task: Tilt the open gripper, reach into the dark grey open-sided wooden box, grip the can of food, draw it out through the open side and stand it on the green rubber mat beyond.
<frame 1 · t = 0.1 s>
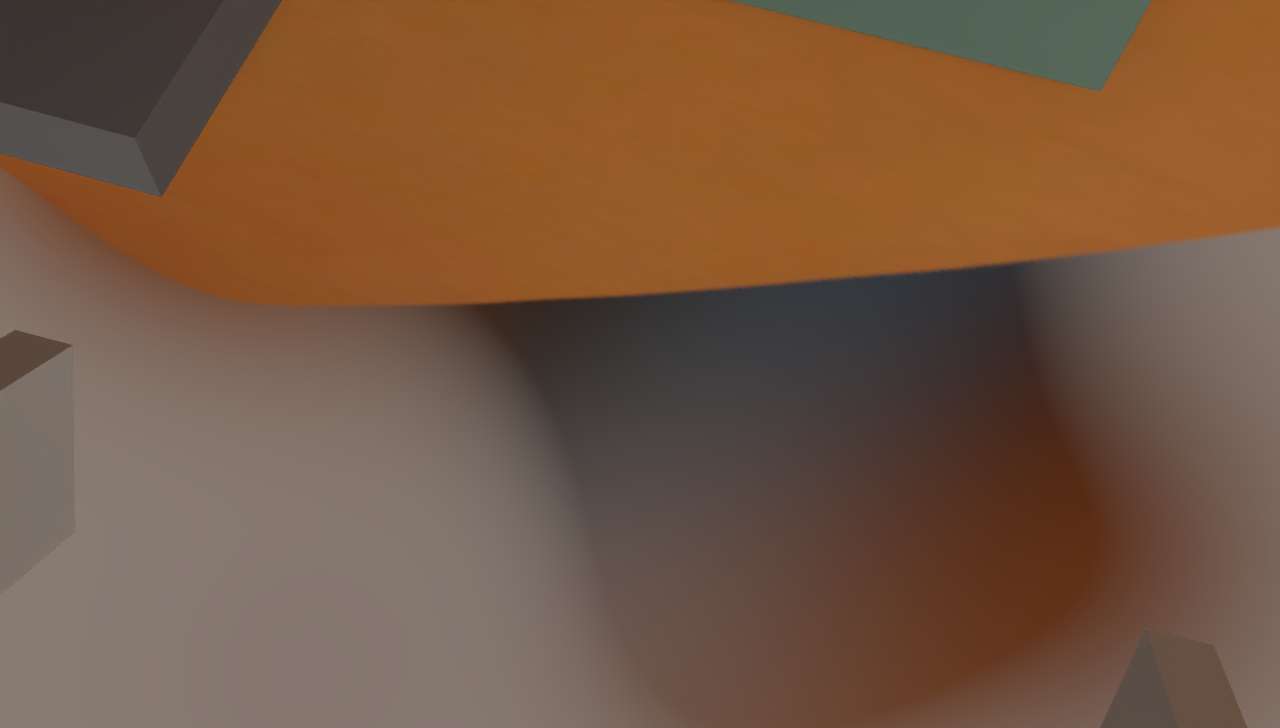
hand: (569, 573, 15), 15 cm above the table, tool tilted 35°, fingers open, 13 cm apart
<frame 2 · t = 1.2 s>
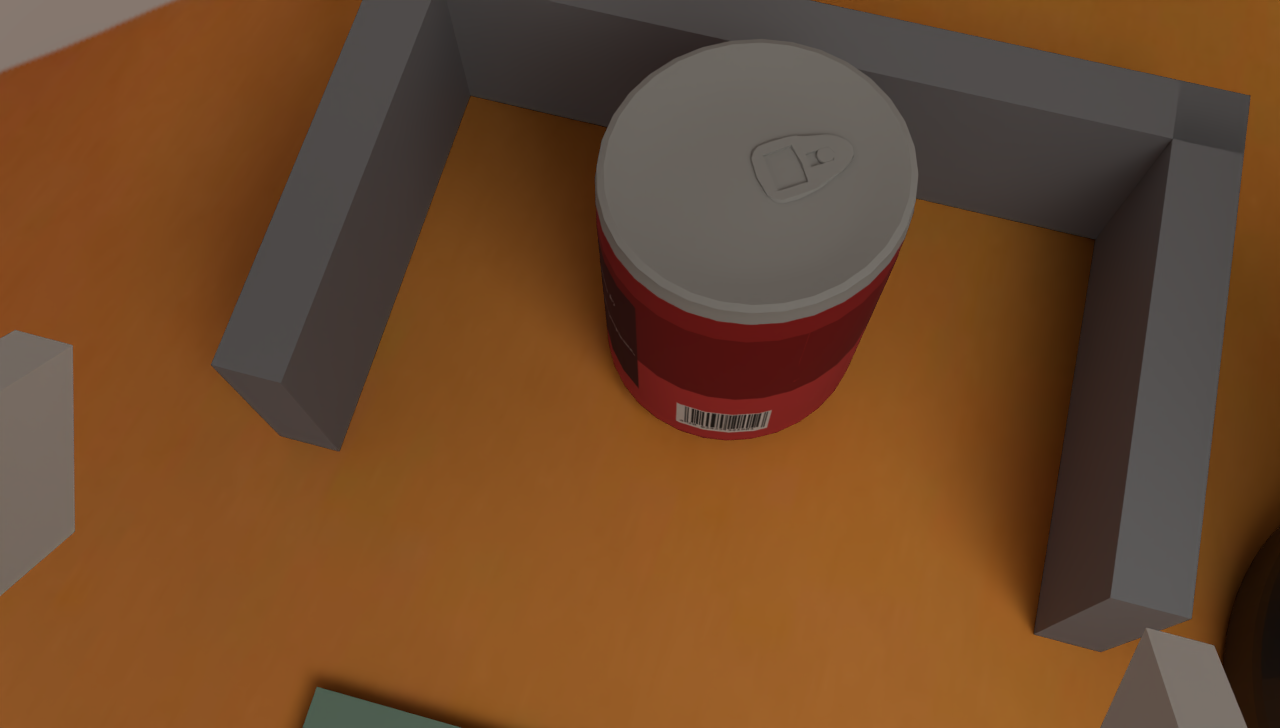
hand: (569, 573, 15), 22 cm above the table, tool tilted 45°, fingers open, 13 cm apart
canned food: (729, 338, 40), on the table
open box: (730, 335, 40), on the table
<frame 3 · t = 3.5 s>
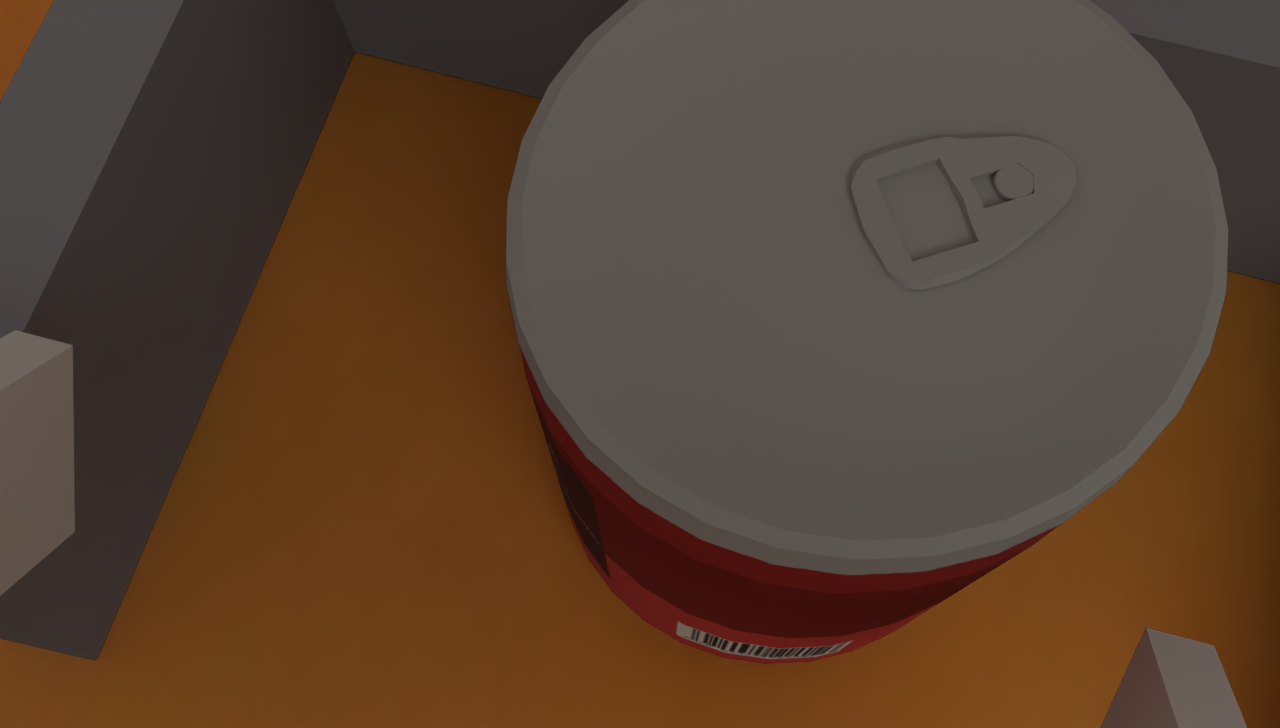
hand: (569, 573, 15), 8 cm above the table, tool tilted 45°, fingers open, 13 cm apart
canned food: (770, 468, 24), on the table
open box: (771, 465, 24), on the table
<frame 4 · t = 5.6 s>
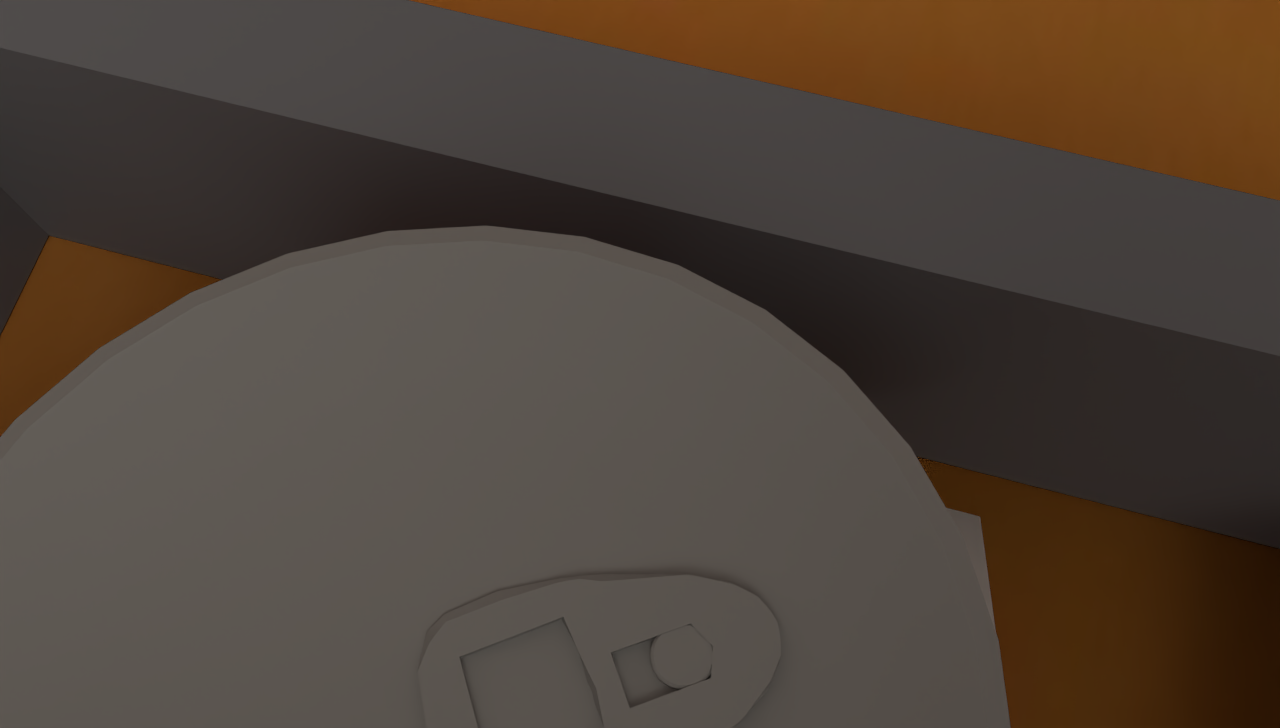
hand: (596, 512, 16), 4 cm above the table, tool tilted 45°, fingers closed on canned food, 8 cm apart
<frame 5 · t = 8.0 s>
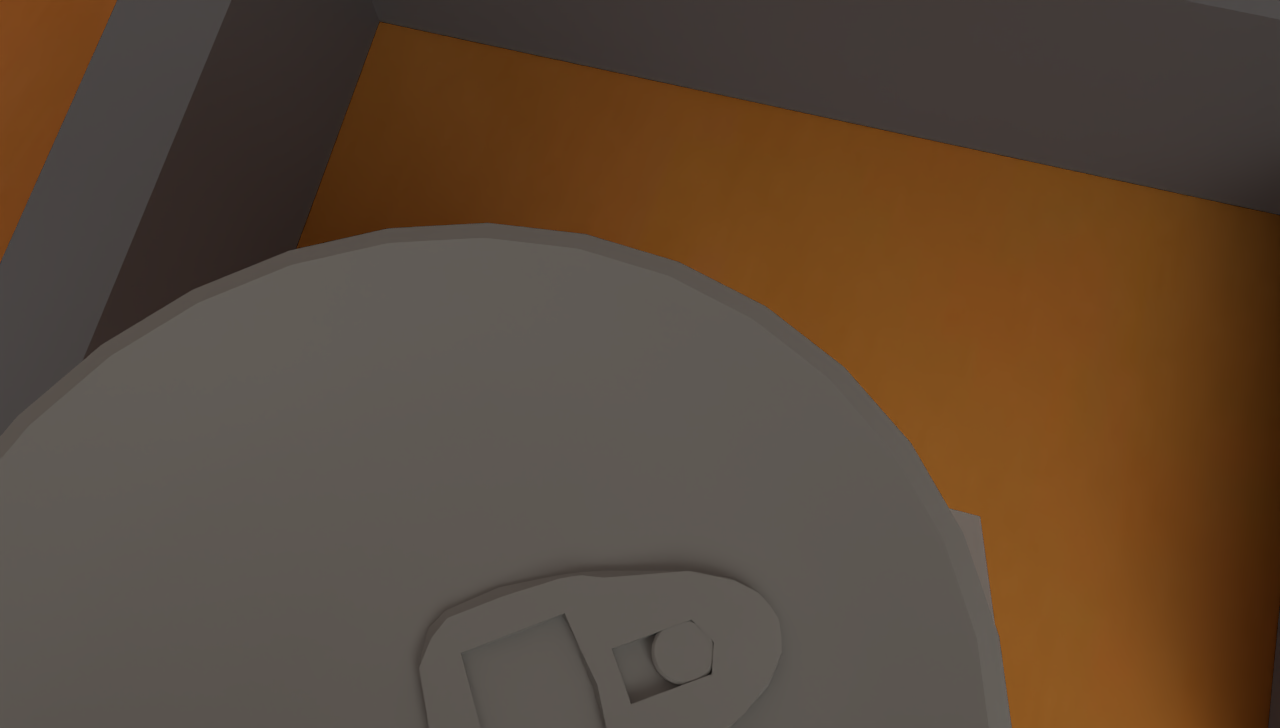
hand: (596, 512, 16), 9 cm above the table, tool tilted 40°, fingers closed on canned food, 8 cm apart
open box: (770, 378, 26), on the table
when the fingers open (5 cm above the table, at t = 10.7 s): canned food stays where it is, resting on green mat.
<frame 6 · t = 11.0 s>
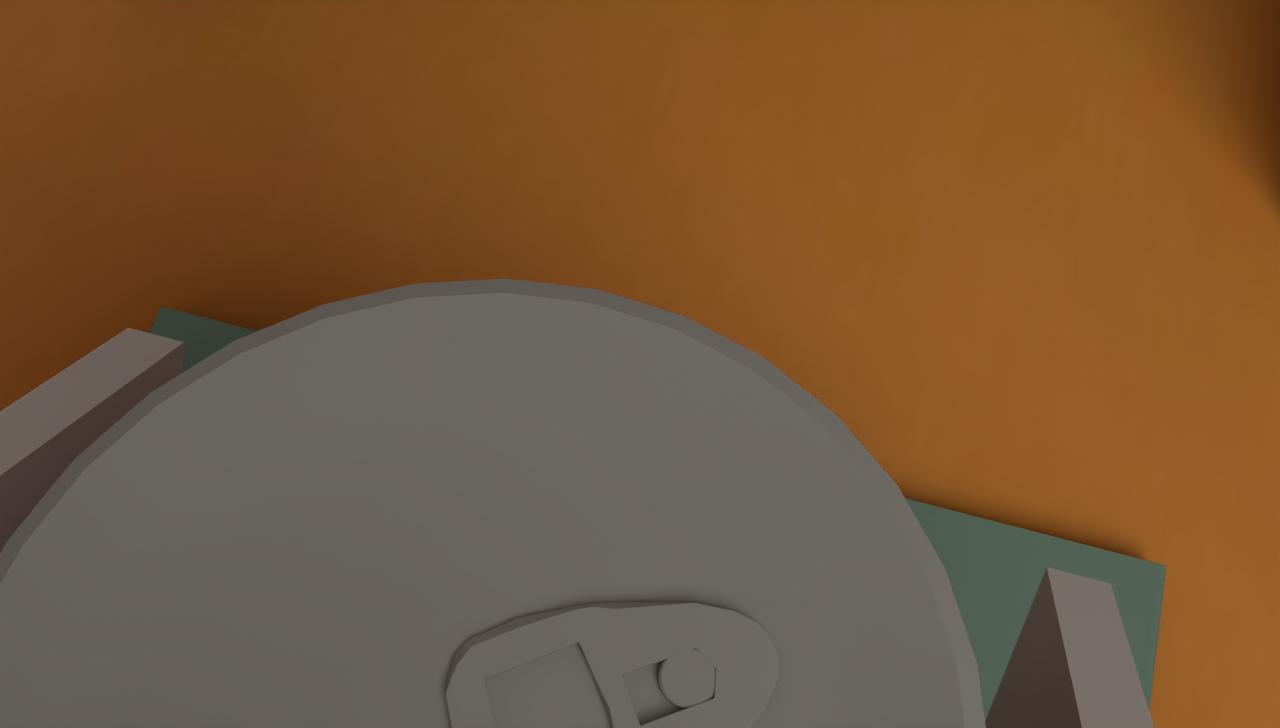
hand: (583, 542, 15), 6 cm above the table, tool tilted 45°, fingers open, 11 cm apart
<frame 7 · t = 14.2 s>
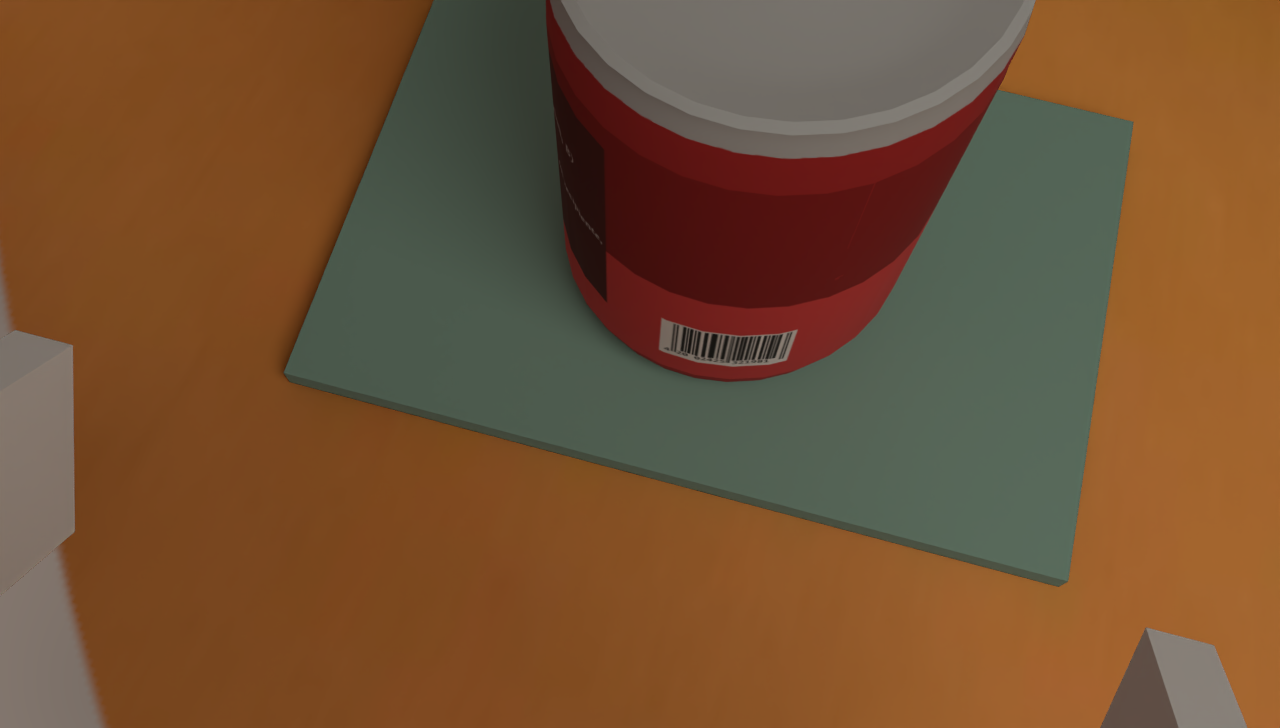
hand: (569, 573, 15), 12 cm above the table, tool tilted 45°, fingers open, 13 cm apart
green mat: (727, 252, 30), on the table
canned food: (730, 246, 29), resting on green mat
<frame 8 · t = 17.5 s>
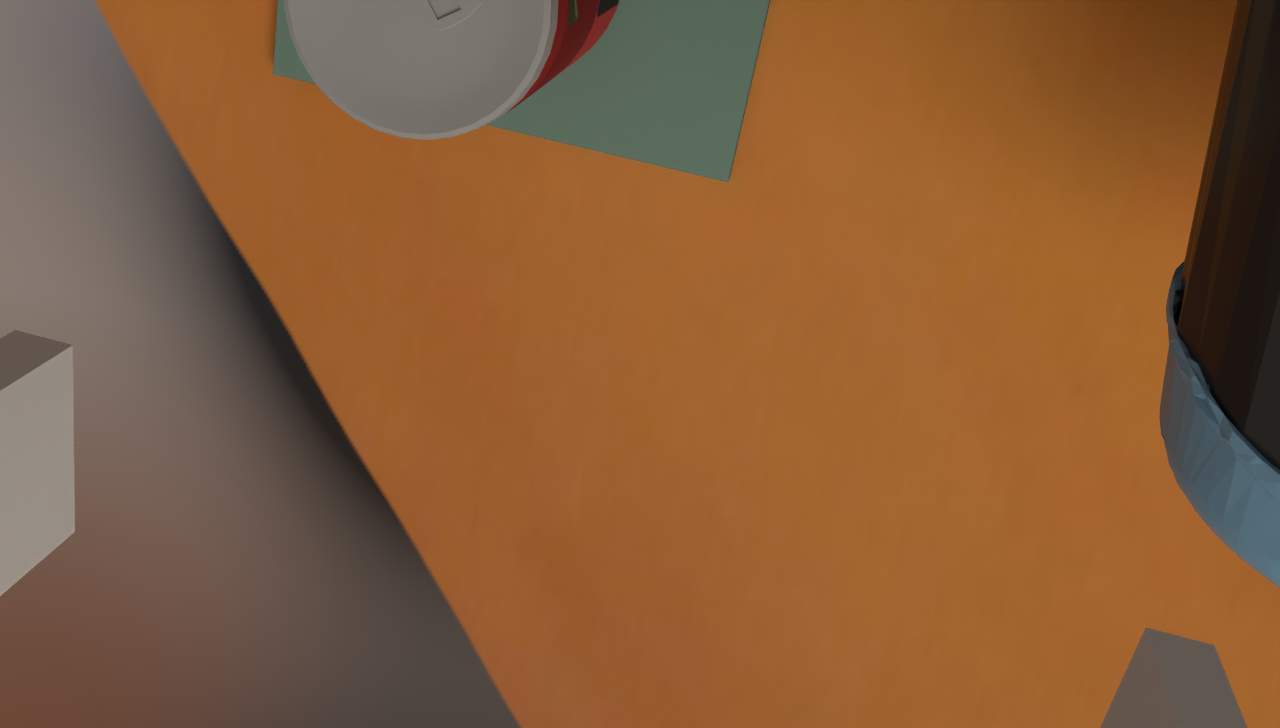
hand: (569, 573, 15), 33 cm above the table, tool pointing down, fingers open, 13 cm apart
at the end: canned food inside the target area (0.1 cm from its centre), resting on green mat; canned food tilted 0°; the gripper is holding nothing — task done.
